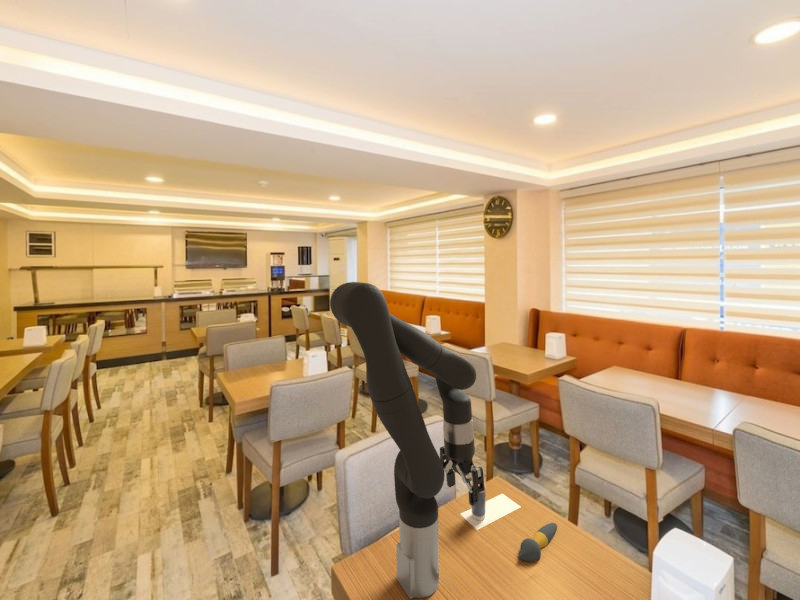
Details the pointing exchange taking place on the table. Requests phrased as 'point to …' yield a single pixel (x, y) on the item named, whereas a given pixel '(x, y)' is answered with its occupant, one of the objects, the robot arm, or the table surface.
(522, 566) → the table surface
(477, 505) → the peach capped blue cylinder
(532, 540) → the paintbrush
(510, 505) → the whiteboard
